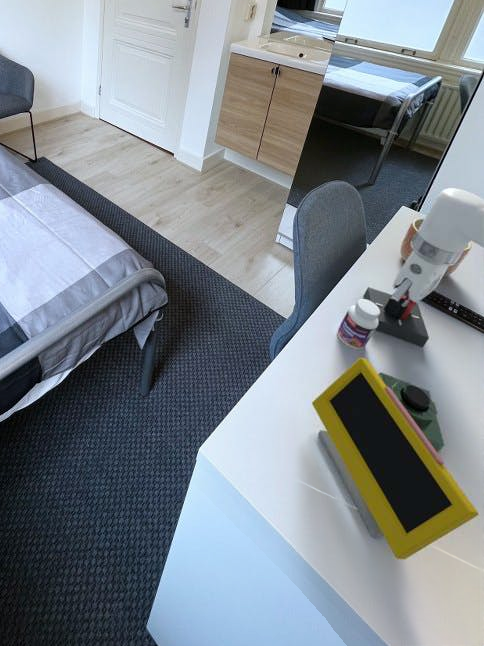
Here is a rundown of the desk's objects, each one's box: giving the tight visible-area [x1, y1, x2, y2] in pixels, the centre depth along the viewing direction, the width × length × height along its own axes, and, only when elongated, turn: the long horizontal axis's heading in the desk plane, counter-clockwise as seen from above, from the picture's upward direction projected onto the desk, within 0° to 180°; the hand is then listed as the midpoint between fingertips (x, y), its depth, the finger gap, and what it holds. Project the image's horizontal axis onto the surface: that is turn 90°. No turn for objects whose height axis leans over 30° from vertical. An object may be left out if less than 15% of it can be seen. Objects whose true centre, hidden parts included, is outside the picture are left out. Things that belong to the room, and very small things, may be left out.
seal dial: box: [401, 295, 416, 318], centre depth 91 cm, size 4×4×5 cm
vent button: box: [402, 384, 430, 412], centre depth 73 cm, size 4×4×2 cm
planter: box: [399, 217, 473, 277], centre depth 108 cm, size 12×12×11 cm
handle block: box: [362, 286, 430, 348], centre depth 93 cm, size 10×10×3 cm
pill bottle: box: [336, 298, 380, 350], centre depth 86 cm, size 5×5×10 cm
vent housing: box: [377, 371, 445, 453], centre depth 74 cm, size 10×8×4 cm
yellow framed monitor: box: [311, 357, 479, 560], centre depth 62 cm, size 20×8×16 cm, turn 5°
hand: (397, 309), depth 92 cm, fingers closed on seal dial, 4 cm apart
